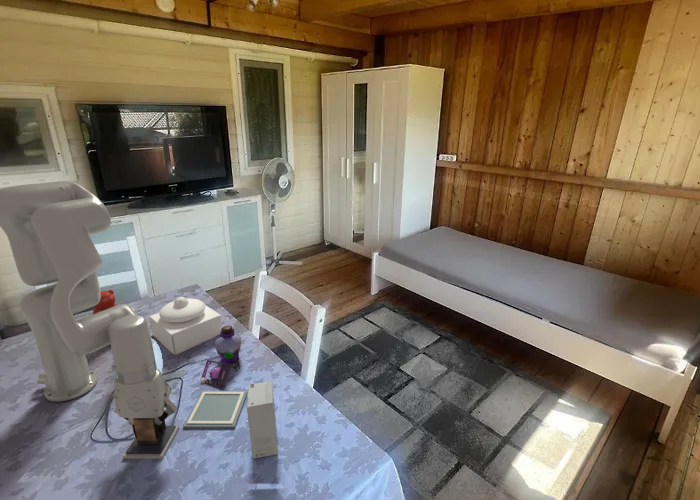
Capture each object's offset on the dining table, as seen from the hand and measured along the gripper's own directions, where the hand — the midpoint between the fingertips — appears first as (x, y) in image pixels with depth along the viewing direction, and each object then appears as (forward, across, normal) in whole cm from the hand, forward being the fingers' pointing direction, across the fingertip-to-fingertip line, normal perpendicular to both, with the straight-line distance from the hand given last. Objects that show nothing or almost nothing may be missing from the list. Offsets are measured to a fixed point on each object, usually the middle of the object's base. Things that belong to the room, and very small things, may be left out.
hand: (150, 433), depth 88 cm
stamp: (+1, 0, 0) cm, 1 cm away
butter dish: (+3, -10, +47) cm, 48 cm away
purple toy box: (+1, +13, +22) cm, 25 cm away
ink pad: (+3, 0, 0) cm, 3 cm away
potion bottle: (+3, +9, +33) cm, 34 cm away
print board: (+3, +12, +11) cm, 17 cm away
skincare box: (+3, +27, 0) cm, 27 cm away
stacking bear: (+3, -37, +46) cm, 59 cm away
